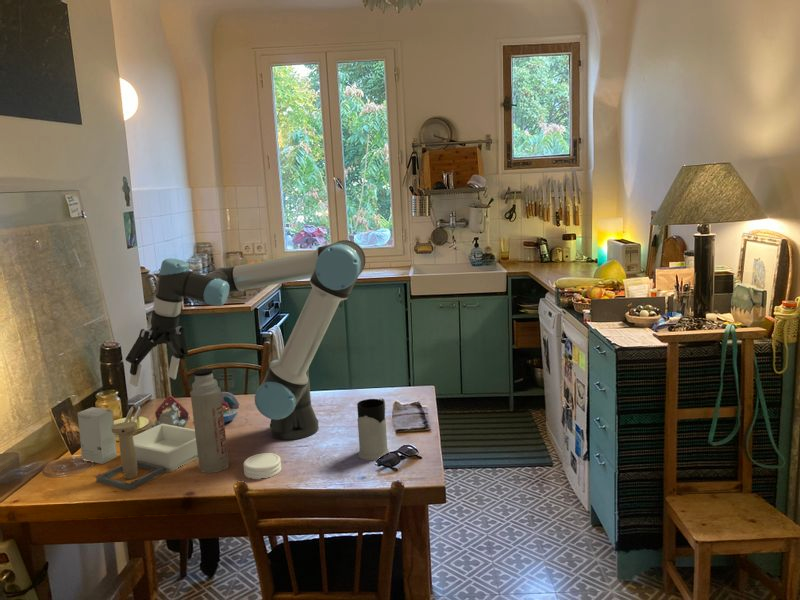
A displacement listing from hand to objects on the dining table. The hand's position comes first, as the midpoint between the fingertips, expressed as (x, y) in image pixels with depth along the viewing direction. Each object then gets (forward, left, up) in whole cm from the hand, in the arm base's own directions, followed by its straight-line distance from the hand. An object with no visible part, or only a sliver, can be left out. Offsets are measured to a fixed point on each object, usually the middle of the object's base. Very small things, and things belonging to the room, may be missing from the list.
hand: (153, 381), depth 199 cm
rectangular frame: (-6, +16, -22) cm, 28 cm away
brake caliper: (+11, -14, -22) cm, 28 cm away
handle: (-6, +16, -22) cm, 28 cm away
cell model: (-1, -26, -22) cm, 34 cm away
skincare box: (+13, +11, -22) cm, 28 cm away
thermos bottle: (-23, +2, -22) cm, 32 cm away
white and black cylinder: (-60, -25, -22) cm, 69 cm away
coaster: (-38, -1, -22) cm, 44 cm away
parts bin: (-4, +2, -22) cm, 22 cm away
